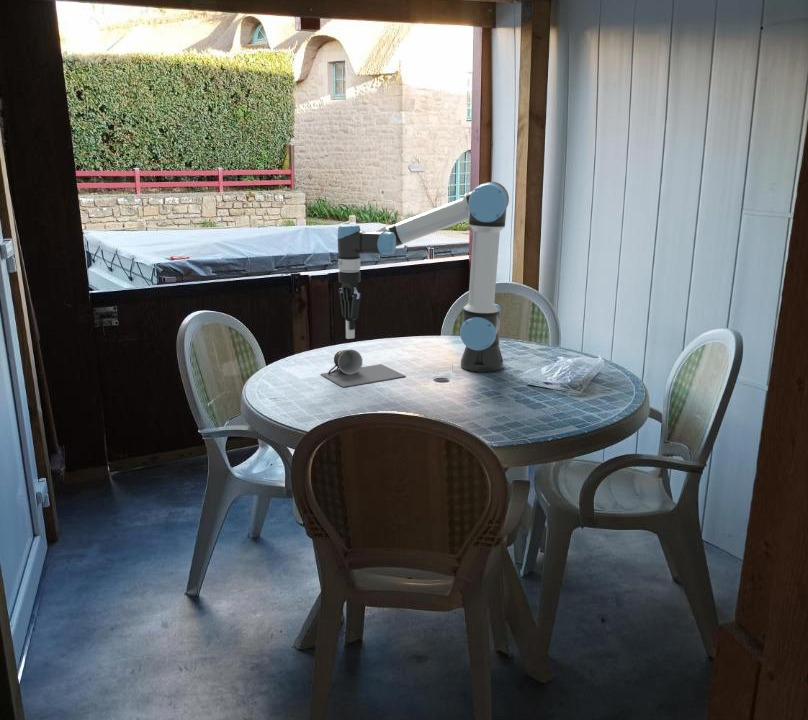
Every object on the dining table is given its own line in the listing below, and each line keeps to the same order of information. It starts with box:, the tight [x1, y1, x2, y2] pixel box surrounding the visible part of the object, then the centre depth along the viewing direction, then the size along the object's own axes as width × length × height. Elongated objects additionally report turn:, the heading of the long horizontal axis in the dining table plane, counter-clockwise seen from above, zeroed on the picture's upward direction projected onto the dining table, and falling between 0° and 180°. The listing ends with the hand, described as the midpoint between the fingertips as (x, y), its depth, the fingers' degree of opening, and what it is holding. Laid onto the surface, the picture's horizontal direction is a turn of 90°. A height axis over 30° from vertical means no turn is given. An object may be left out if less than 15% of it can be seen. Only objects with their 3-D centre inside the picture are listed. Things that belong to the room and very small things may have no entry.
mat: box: [320, 363, 407, 388], centre depth 260 cm, size 17×24×1 cm
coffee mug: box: [327, 349, 363, 375], centre depth 263 cm, size 12×9×10 cm
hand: (350, 338), depth 264 cm, fingers closed
